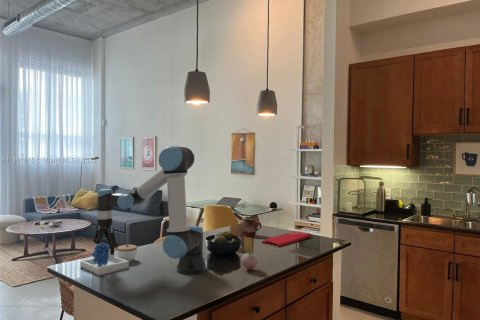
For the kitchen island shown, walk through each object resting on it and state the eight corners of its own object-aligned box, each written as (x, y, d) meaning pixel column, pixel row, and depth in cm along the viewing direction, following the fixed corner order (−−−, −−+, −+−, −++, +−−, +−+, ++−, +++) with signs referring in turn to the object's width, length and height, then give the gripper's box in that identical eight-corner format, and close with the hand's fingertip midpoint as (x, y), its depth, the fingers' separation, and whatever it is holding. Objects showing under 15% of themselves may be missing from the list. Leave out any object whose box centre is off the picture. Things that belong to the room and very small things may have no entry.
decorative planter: (266, 236, 272) (266, 217, 272) (257, 239, 262) (257, 220, 262) (244, 232, 283) (244, 215, 283) (235, 235, 273) (235, 217, 273)
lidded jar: (131, 263, 198) (131, 246, 198) (113, 262, 200) (113, 245, 200) (140, 258, 209) (140, 242, 209) (123, 257, 211) (123, 241, 211)
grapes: (109, 263, 197) (104, 242, 199) (117, 261, 194) (111, 239, 196) (91, 270, 188) (85, 247, 190) (98, 267, 184) (92, 244, 186)
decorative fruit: (238, 268, 192) (238, 249, 192) (252, 266, 195) (253, 248, 195) (245, 273, 183) (245, 254, 183) (259, 272, 186) (260, 252, 186)
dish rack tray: (128, 267, 191) (128, 261, 191) (98, 275, 178) (98, 268, 178) (109, 260, 203) (109, 254, 203) (80, 267, 190) (80, 261, 190)
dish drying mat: (260, 244, 249) (260, 238, 249) (294, 235, 279) (294, 230, 279) (278, 248, 238) (279, 242, 238) (311, 238, 268) (311, 233, 268)
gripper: (124, 220, 185) (123, 261, 186) (99, 214, 201) (99, 252, 201) (110, 221, 180) (110, 264, 180) (86, 216, 196) (86, 255, 196)
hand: (104, 258), depth 191 cm, fingers open, 13 cm apart
